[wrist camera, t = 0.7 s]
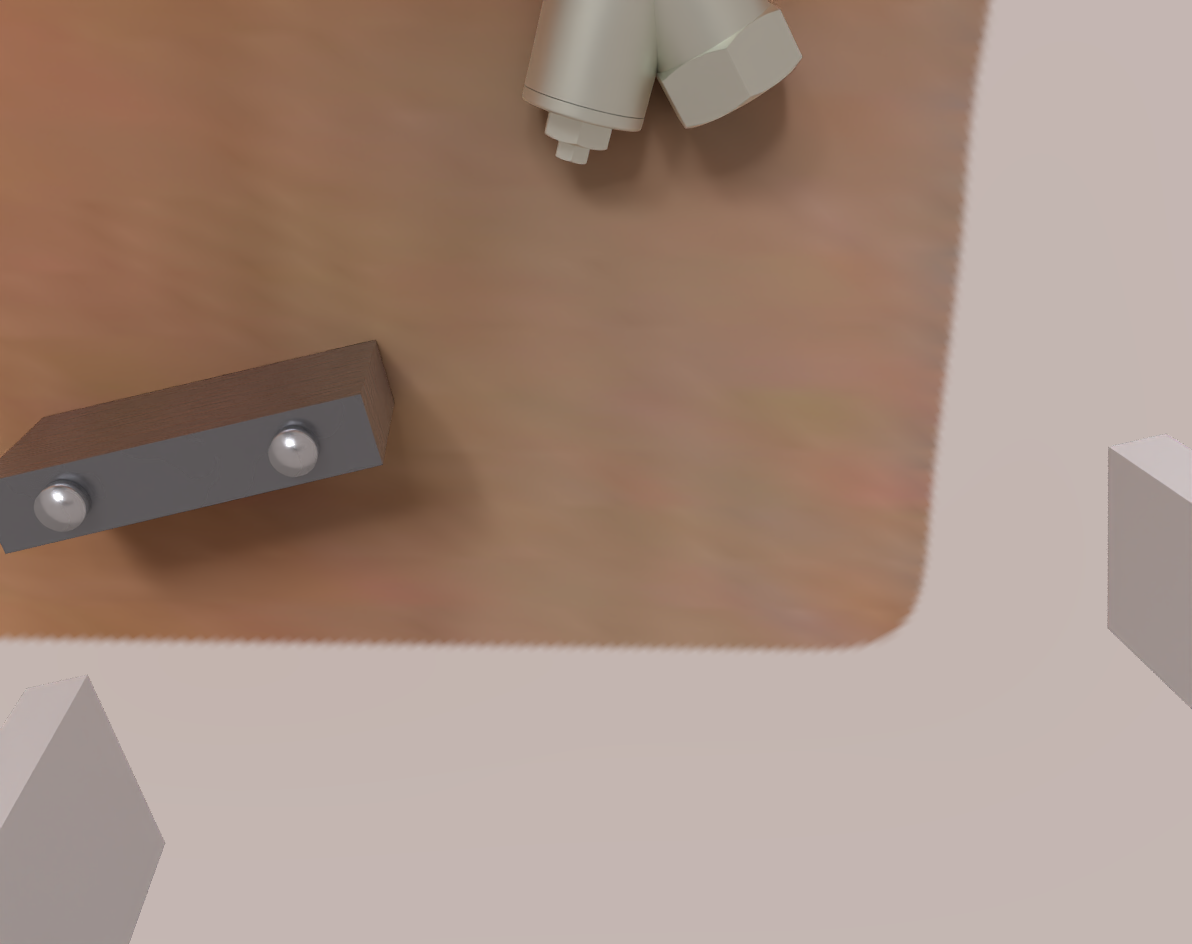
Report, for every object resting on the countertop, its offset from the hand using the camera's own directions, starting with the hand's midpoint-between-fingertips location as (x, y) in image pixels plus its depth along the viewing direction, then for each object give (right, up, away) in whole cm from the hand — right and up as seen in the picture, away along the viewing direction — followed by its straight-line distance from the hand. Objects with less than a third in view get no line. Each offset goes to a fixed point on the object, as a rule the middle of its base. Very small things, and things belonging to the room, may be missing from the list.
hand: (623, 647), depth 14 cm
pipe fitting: (0, +15, +16) cm, 22 cm away
